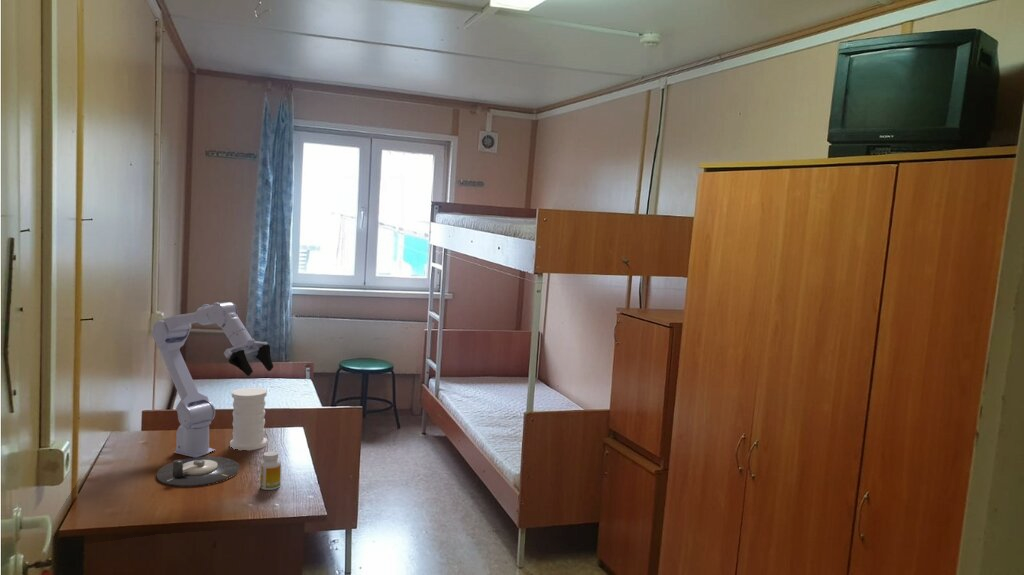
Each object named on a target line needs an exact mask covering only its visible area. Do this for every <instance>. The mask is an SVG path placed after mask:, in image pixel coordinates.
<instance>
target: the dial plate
mask: <svg viewBox="0 0 1024 575" xmlns="http://www.w3.org/2000/svg"><path fill="white" fill-rule="evenodd" d="M182 460H183V464H184V463H187V462H190V461H195V460H212V461H215V462H217V464H218V465H217V469H216V470H215V471H213V472H211V473H207V474H202V475H186V474H183V476H181V477H173V461H172V462H169V463H167V464H165V465H163V466H162V467H161V468H158V470H157V473H156V478H157V480H158V482H160V483H161V484H164V485H166V484H167V485H168V486H171V485H173V486H172V487H178V486H183V487H182V488H191V487H192V488H194V486H196V487H204V486H203V485H205V486H209V485H208V484H211V485H214V484H213V483H215V484H217V483H216V482H219V483H221V482H220V481H222V482H224V481H223V480H225V481H227V480H226V479H227V478H229V477H231V476H233V475H235V474H236V473H237V472H238V471H239V472H240V464H239V462H237V461H236V460H235V459H231V458H228V457H222V456H199V457H189V458H184V459H183V458H182ZM239 472H238V473H239ZM238 473H237V474H238ZM237 474H236V475H237ZM236 475H235V476H236Z"/></svg>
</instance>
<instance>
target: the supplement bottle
mask: <svg viewBox="0 0 1024 575" xmlns="http://www.w3.org/2000/svg"><path fill="white" fill-rule="evenodd" d="M262 458H263V460H261V463H260V472H259V473H260V475H259V476H260V478H259V479H260V480H259V481H260V482H259V484H260V489H262V490H266V491H273V490H277V489H279V488H280V487H281V477H282V476H281V470H282V469H281V468H282V465H281V464H282V463H281V461H280V459H279V452H277V451H271V450H270V451H265V452H264V453H263V457H262Z"/></svg>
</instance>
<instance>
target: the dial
mask: <svg viewBox="0 0 1024 575" xmlns="http://www.w3.org/2000/svg"><path fill="white" fill-rule="evenodd" d="M172 462H173V477H181V476H183V474H186V475H202V474H207V473H211V472H213V471H215V470H216V469H217V465H218V464H217V462H215V461H212V460H195V461H190V462H187V463H184V464H183V459H174V460H173V461H172Z"/></svg>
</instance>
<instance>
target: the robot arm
mask: <svg viewBox="0 0 1024 575" xmlns="http://www.w3.org/2000/svg"><path fill="white" fill-rule="evenodd" d="M238 309H239V308H238V306H237V304H236V303H234V302H230V301H227V302H219V301H218V302H213V304H207V303H206V304H202V306H200V307H198V308H197V309H196V311H195V312H189V313H183V314H176V315H172V316H169V317H165V318H162V319H160V320H156V321H155V322H154V324H153V325H152V329H151V336H152V337H153V340H154V342H155V344H156V347H157V348H158V350H159V351H160V354H161V357H162V360H163V361H164V364H165V367H166V369H167V371H168V373H169V375H170V377H171V380H172V382H173V384H174V387H175V390H176V391H177V395H179V399H180V400H179V402H178V403H177V405H176V407H175V410H176V412H177V420H178V422H179V424H180V425H179V426H178V428H177V430H176V435H175V436H176V438H175V439H176V443H175V444H176V446H175V447H176V448H175V449H176V450H173V453H174V454H179V455H182V456H187V457H189V458H194V457H203V456H205V455H207V454H211V453H213V452H215V451H216V449H215V448H212V447H210V425H211V424H212V421H213V420H214V418H215V416H216V407H215V406H214V404H213V403H212V402H211V401H210V400H209V398H208V396H206V395H204V394H202V393H200V392H199V391H198V389H197V387H196V384H195V381H194V380H193V377H192V375H191V373H190V371H189V368H188V366H187V364H186V361H185V360H184V357H183V355H182V352H181V351H180V349H181V347H183V346H185V343H186V340H188V337H189V335H190V331H191V329H192V324H196V323H197V324H199V325H202V326H207V325H212V324H213V325H214V324H216V325H217V326H218V327H219V328H221V330H222V331H223V333H224V335H225V336H226V338H227V340H228V341H229V342H230V344H231V345H232V347H229V348H226V349H225V351H224V352H223V355H224V357H225V358H226V359H228V363H229V364H230V365H232V366H235V367H236V368H238V369H239V370H241V371H242V372H243V373H244V375H246V376H247V377H250V376H251V375H252V374H253V373H254V371H253V368H252V366H251V365H250V363H249V361H248V359H247V357H246V355H247V354H250V353H254V352H257V354H256V355H255V358H256V359H257V360H258V361H260V362H261V364H262V365H263V366H264V368H265V369H266V370H267V372H271V371H272V370H273V369H274V364H273V361H272V356H271V346H270V344H269V343H268V342H267V341H258V340H257V341H256V340H255V338H253V337H252V335H251V334H250V333H249V331H248V329H247V328H246V327H245V325H244V324H243V322H242V320H241V319H240V317H239V316H238V314H239V310H238ZM214 450H215V451H214ZM212 451H213V452H212ZM210 452H211V453H210Z"/></svg>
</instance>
